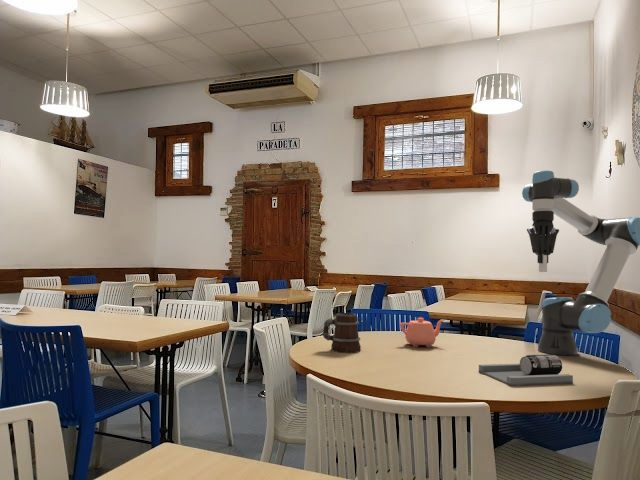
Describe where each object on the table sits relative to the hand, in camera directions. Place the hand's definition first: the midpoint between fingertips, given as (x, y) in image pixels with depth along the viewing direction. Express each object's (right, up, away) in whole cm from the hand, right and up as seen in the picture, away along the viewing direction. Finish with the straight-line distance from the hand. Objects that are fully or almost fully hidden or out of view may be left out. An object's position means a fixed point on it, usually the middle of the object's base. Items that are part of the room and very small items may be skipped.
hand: (542, 271), depth 184 cm
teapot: (-41, -35, +27) cm, 60 cm away
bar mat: (-19, -33, -27) cm, 47 cm away
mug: (-78, -33, +12) cm, 85 cm away
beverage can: (-7, -29, -25) cm, 39 cm away
